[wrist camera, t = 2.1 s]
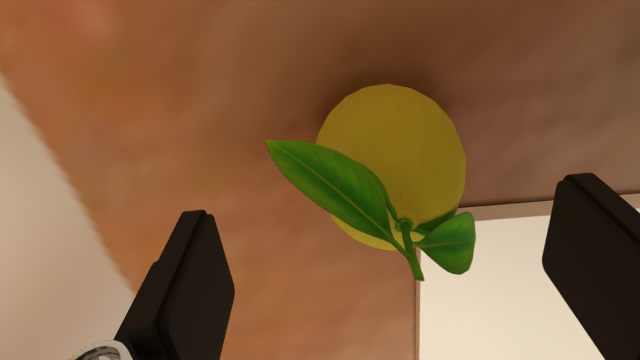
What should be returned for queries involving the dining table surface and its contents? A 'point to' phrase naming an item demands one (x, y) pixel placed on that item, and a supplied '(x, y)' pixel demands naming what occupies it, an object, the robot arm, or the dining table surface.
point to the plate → (500, 295)
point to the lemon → (388, 175)
